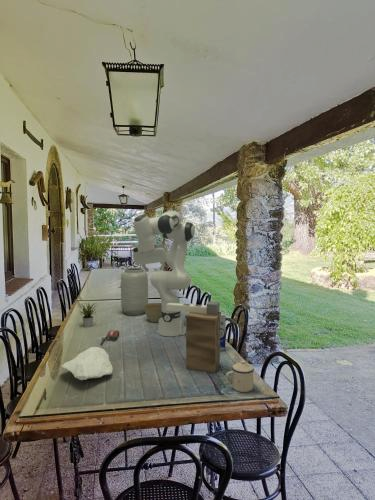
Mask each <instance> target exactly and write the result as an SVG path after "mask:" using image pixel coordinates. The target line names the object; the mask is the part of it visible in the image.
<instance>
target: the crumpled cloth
mask: <svg viewBox="0 0 375 500" xmlns="http://www.w3.org/2000/svg"><path fill="white" fill-rule="evenodd" d="M61 368H62V369H64V370H66V371H69V372H71V374H72V375H73V376H74V378H75V379H78V380H79V381H84V380H85V381H86V380H88V379H98V378H102V377H103V376H109V375H112V373H113V365H112V363H111V361H110V354H108V353H107V351H106V350H105V349H104V348H101V347H100V346H91V347H89V348H88V349H87V348H86V349H85V350H83V351H82V352H80V353H78V354H77V355H76V356H75V357H74V358H73V359H71V360H69V361H66V362H64V363H63V364H62V365H61Z"/></svg>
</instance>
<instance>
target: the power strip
mask: <svg viewBox="0 0 375 500" xmlns="http://www.w3.org/2000/svg"><path fill="white" fill-rule="evenodd" d="M220 304H221V303H220V301H211V300H210V301H208V302H207V303H206V305H205V304H194V303H193V304H192V303H180V302H179V303H168V304H166V310H168V311H180V312H183V313H189V312H192V313H204V314H209V315H217V314H218V313H219V312H221V311H220V308H221V307H220Z"/></svg>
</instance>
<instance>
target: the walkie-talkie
mask: <svg viewBox="0 0 375 500" xmlns="http://www.w3.org/2000/svg"><path fill="white" fill-rule="evenodd" d="M119 337H120V331H119V330H118V329H117V330H113V329H112V330H108V332H107V334H104V335H103V336H102V337H101V342H100V345H103V343H104V342H116V341H118V339H119Z"/></svg>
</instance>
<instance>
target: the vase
mask: <svg viewBox="0 0 375 500" xmlns="http://www.w3.org/2000/svg"><path fill="white" fill-rule="evenodd" d="M120 304H121V306H120V307H121V310H122V311H123V312H124V314H125V315H127V316H139V315H140V316H141V315H143V314H145V307H144V305H146V304H149V275H148V272H145V270H144V269H143V267H129V268H128V267H127V268H125V269H124V272H121V274H120Z"/></svg>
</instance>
